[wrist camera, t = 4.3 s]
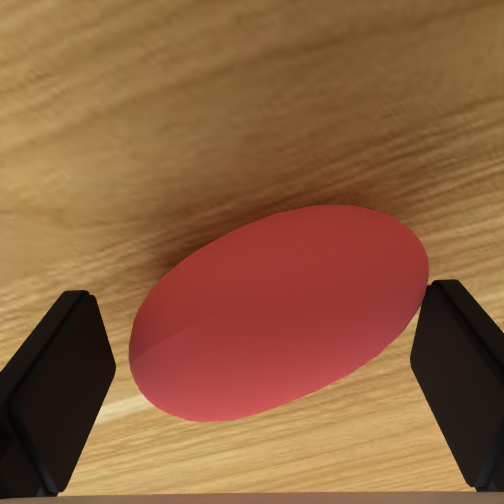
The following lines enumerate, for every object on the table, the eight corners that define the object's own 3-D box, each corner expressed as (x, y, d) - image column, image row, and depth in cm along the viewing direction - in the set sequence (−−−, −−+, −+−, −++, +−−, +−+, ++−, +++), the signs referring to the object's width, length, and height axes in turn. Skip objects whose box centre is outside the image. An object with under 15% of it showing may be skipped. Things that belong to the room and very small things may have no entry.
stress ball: (127, 194, 13) (34, 378, 10) (407, 128, 8) (413, 425, 5) (208, 272, 17) (160, 425, 13) (433, 254, 12) (445, 475, 9)
